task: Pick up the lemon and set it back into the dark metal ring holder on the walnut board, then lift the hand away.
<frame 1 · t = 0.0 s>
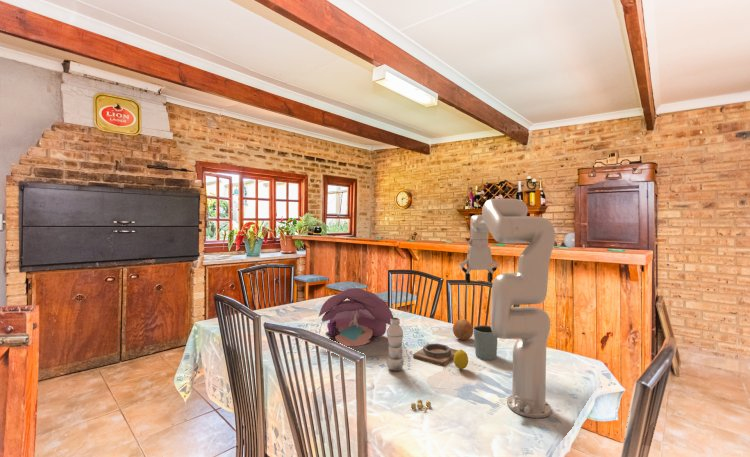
hand: (478, 282, 154), 31 cm above the table, tool pointing down, fingers open, 9 cm apart
dice set: (421, 409, 110), on the table
grey cup: (485, 356, 151), on the table
holder: (436, 355, 151), on the table
plastic bottle: (395, 369, 138), on the table
purple shell playhouse: (354, 339, 172), on the table
onion: (462, 339, 171), on the table
lemon: (460, 370, 137), on the table
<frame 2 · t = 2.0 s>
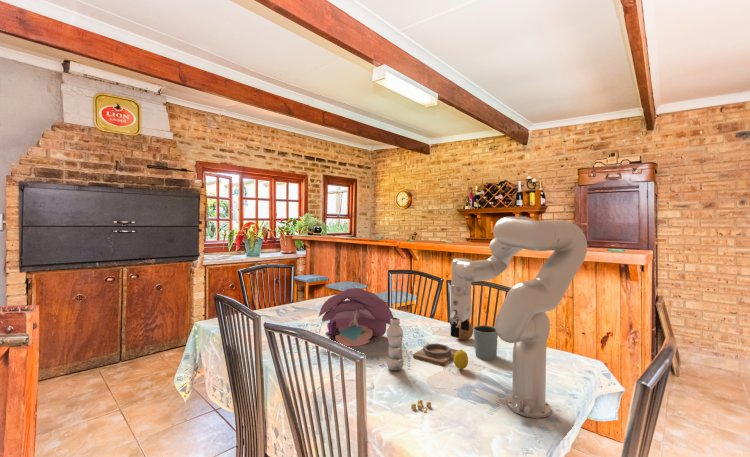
hand: (460, 333, 137), 14 cm above the table, tool pointing down, fingers open, 9 cm apart
nothing on the table moved.
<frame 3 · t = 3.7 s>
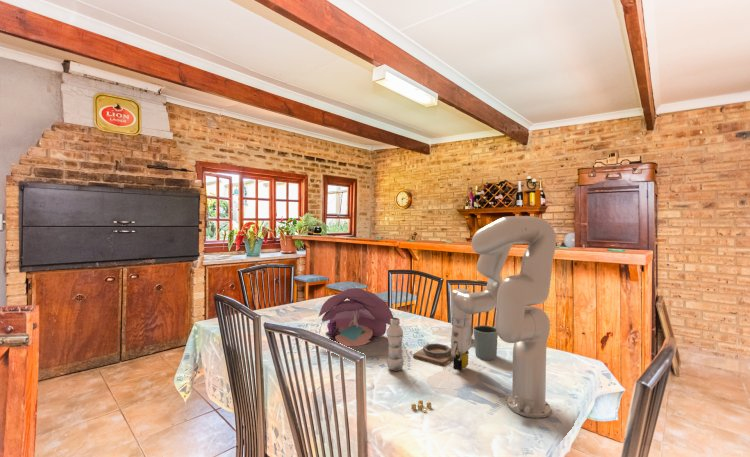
hand: (460, 366, 137), 1 cm above the table, tool pointing down, fingers closed on lemon, 5 cm apart
lemon: (460, 370, 137), on the table, touching gripper
everything else where it was.
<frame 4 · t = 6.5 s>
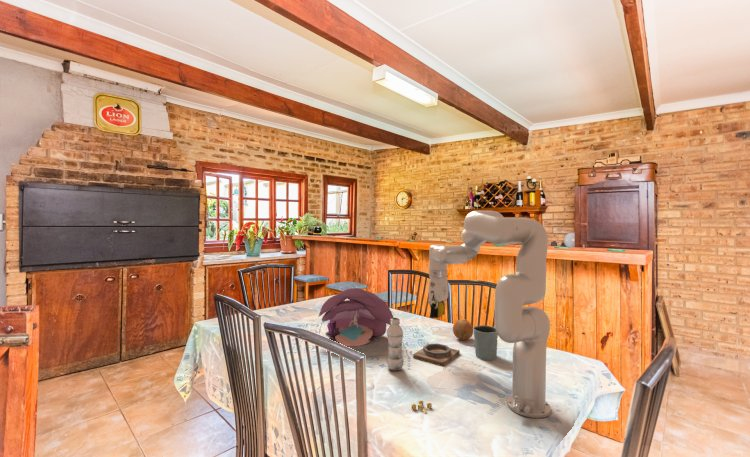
hand: (437, 315, 150), 18 cm above the table, tool pointing down, fingers closed on lemon, 5 cm apart
lemon: (437, 318, 150), point 16 cm above the table, touching gripper
everything else where it was.
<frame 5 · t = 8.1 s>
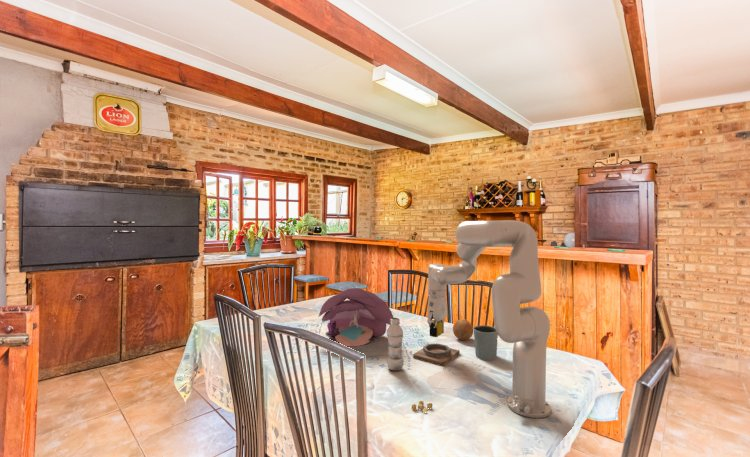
hand: (436, 334, 151), 9 cm above the table, tool pointing down, fingers closed on lemon, 5 cm apart
lemon: (436, 337, 151), point 8 cm above the table, touching gripper
everything else where it was.
when the fingers open (5 cm above the table, at t = 9.5 s): lemon drops 2 cm, resting on holder.
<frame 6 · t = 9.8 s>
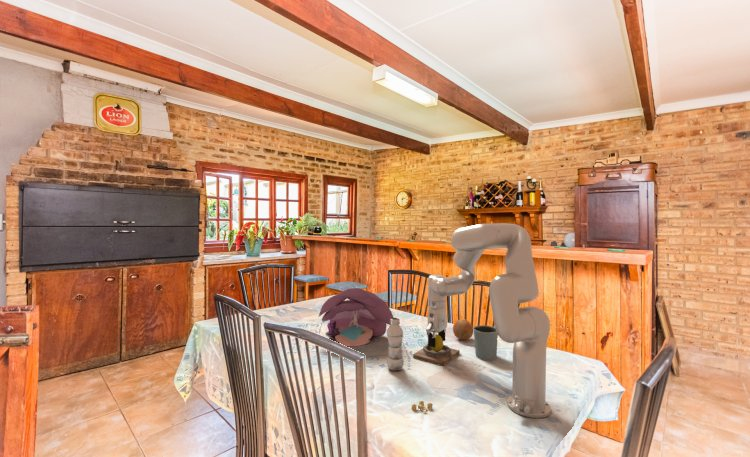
hand: (436, 343, 151), 5 cm above the table, tool pointing down, fingers open, 9 cm apart
lemon: (436, 353, 151), point 1 cm above the table, touching holder
everything else where it was.
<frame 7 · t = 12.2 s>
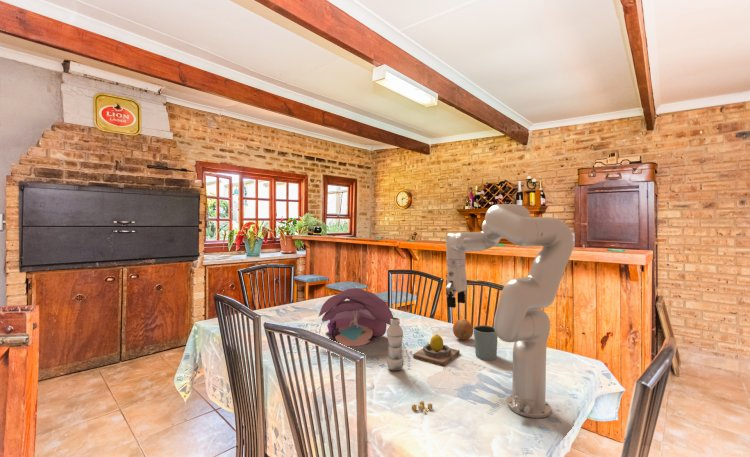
hand: (456, 305, 143), 24 cm above the table, tool pointing down, fingers open, 9 cm apart
nothing on the table moved.
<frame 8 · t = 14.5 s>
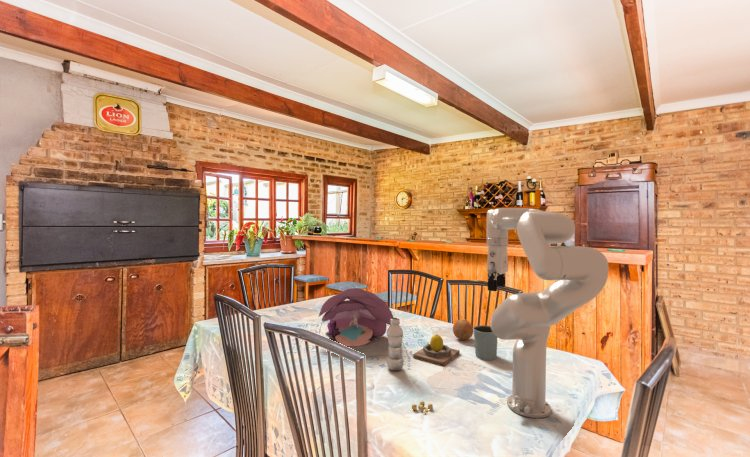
hand: (496, 288, 130), 33 cm above the table, tool pointing down, fingers open, 9 cm apart
at the end: lemon 0.4 cm off-centre on the holder, point 1.3 cm above the holder's base; the gripper is holding nothing; lemon moved 15.4 cm from its start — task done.
